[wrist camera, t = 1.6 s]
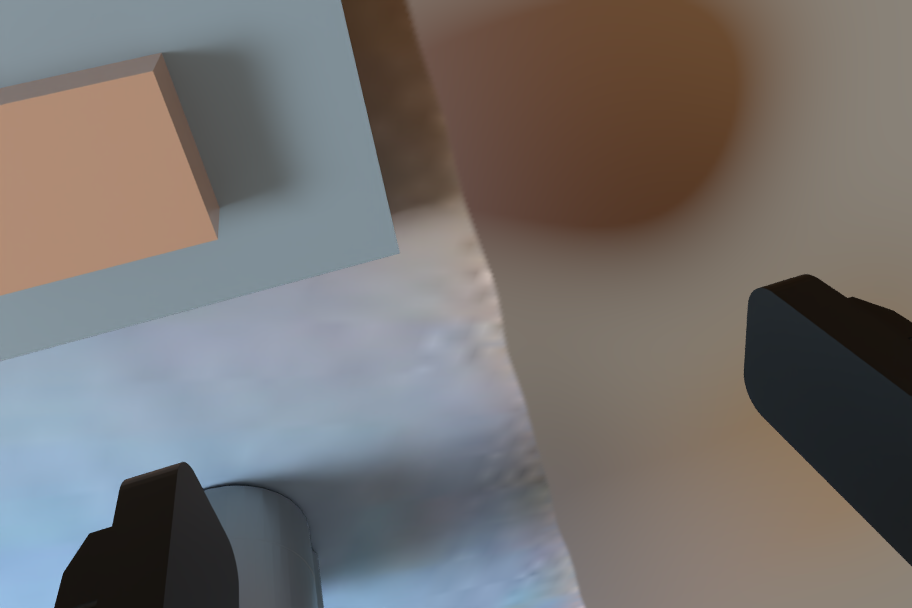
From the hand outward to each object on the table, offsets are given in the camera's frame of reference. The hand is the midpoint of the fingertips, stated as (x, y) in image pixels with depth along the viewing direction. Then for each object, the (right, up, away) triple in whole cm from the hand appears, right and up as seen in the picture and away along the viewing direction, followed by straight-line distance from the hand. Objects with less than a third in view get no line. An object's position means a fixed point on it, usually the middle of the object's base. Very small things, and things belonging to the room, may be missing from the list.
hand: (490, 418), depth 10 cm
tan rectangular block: (-15, +7, +16) cm, 23 cm away
